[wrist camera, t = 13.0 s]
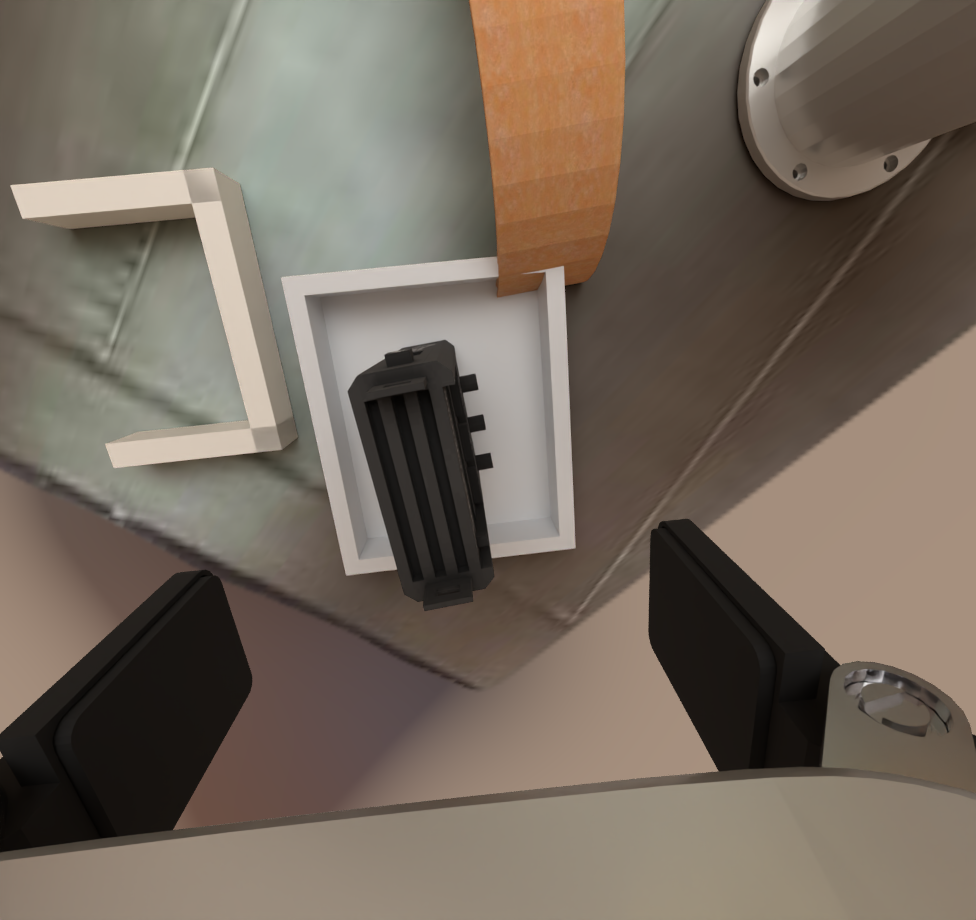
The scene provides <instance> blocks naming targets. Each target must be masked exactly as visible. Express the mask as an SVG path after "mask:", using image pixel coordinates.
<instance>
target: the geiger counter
mask: <svg viewBox="0 0 976 920" xmlns="http://www.w3.org/2000/svg"><path fill="white" fill-rule="evenodd" d="M384 356H385V359H383V360H382V361H380V362H378V363H377V364H375V365H374V366H372V367H370V368H369V369H367V370H365V371H364V372H362V373H360V374H359V375H357V376H356V378H355V380H354V381H353V383H352V385H351V386H350V388H349V390H348V391H347V392H348V396H349V399H350V403H351V406H352V410H353V413H354V417H355V421H356V424H357V428H358V431H359V435H360V439H361V442H362V446H363V449H364V453H365V456H366V460H367V464H368V467H369V471H370V474H371V478H372V481H373V485H374V489H375V492H376V496H377V499H378V503H379V506H380V510H381V514H382V517H383V521H384V524H385V528H386V531H387V535H388V539H389V542H390V546H391V549H392V553H393V556H394V560H395V564H396V567H397V571H398V574H399V578H400V581H401V585H402V589H403V592H404V595H406V596H408V597H410V598H412V599H414V600H416V601H417V602H420V601H424V602H423V608H424V611H428V610H433V609H438V608H443V607H448V606H453V605H458V604H463V603H468V602H473V592H472V591H476V590H481V589H485V588H486V587H487V586H488V584H489V583H490V582H491V580H492V579H493V578H494V570H493V563H492V557H491V550H490V543H489V536H488V529H487V522H486V515H485V509H484V502H483V495H482V488H481V481H480V474H479V470H485V469H490V468H493V463H492V458H491V453H485V454H480V455H475V451H474V446H473V441H472V436H471V433H472V432H477V431H483V430H486V426H485V421H484V416H483V414H481V415H476V416H471V417H468V416H467V411H466V406H465V401H464V396H463V393H466V392H471V391H476V390H479V389H478V384H477V378H476V374H470V375H465V376H459V371H458V366H457V361H456V353H455V348H454V345H452V344H451V343H450V342H448V341H447V340H441V341H436V342H431V343H426V344H420V345H415V346H410V347H405V348H401V349H400V350H398V351H394V352H389V353H386V354H385V355H384Z"/></svg>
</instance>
